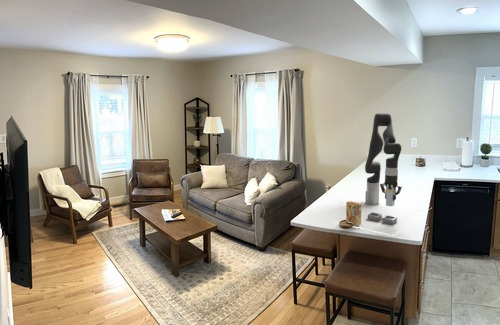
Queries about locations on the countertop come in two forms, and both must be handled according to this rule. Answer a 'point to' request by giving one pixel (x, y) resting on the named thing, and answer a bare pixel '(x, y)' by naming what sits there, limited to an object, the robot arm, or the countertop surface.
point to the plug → (389, 197)
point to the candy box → (353, 212)
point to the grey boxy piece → (382, 219)
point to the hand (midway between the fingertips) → (390, 199)
